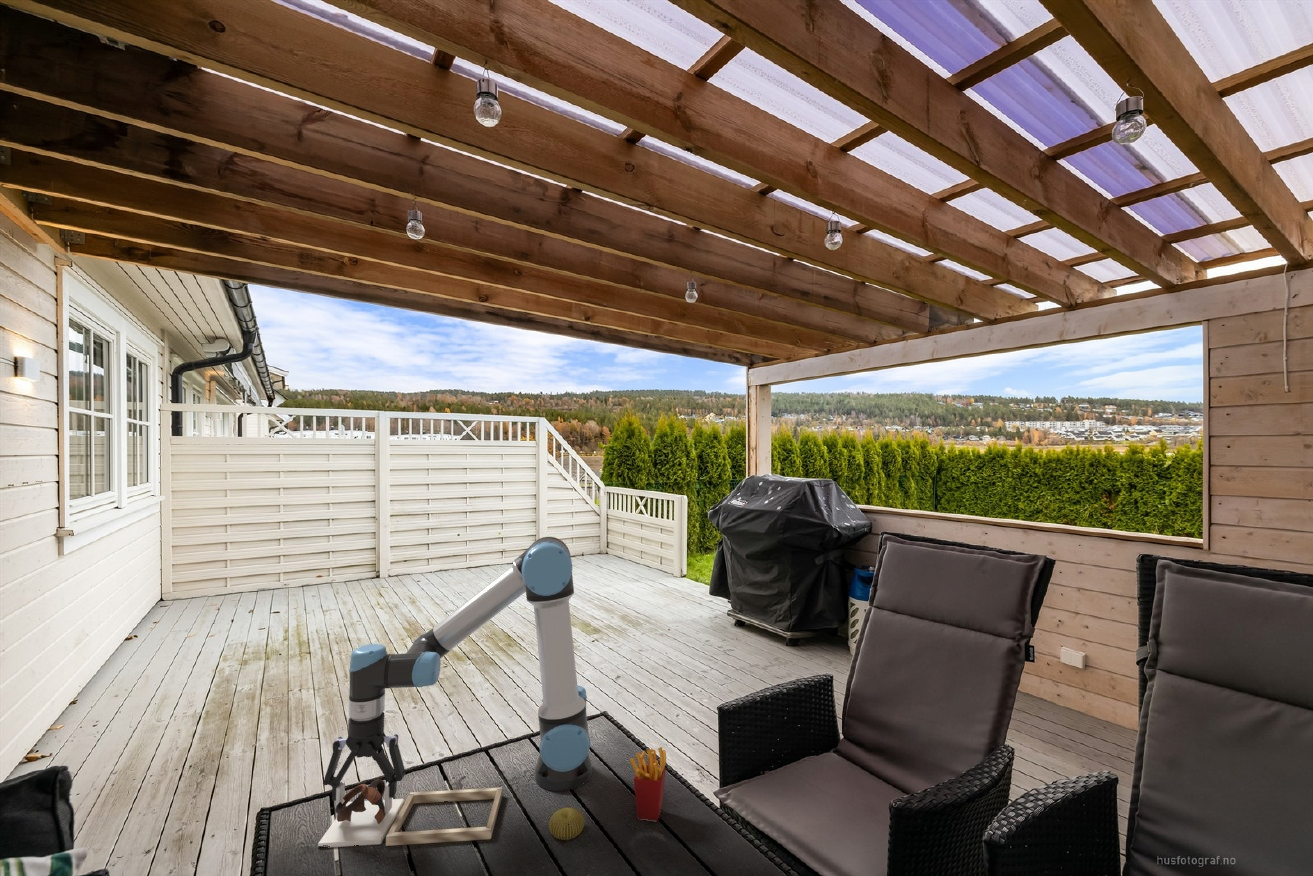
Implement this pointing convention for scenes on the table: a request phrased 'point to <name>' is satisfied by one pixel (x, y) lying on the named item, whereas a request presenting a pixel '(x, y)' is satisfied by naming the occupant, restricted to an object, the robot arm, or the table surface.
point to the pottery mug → (370, 793)
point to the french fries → (649, 784)
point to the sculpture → (566, 823)
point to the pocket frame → (445, 834)
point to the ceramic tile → (361, 827)
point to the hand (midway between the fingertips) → (364, 812)
